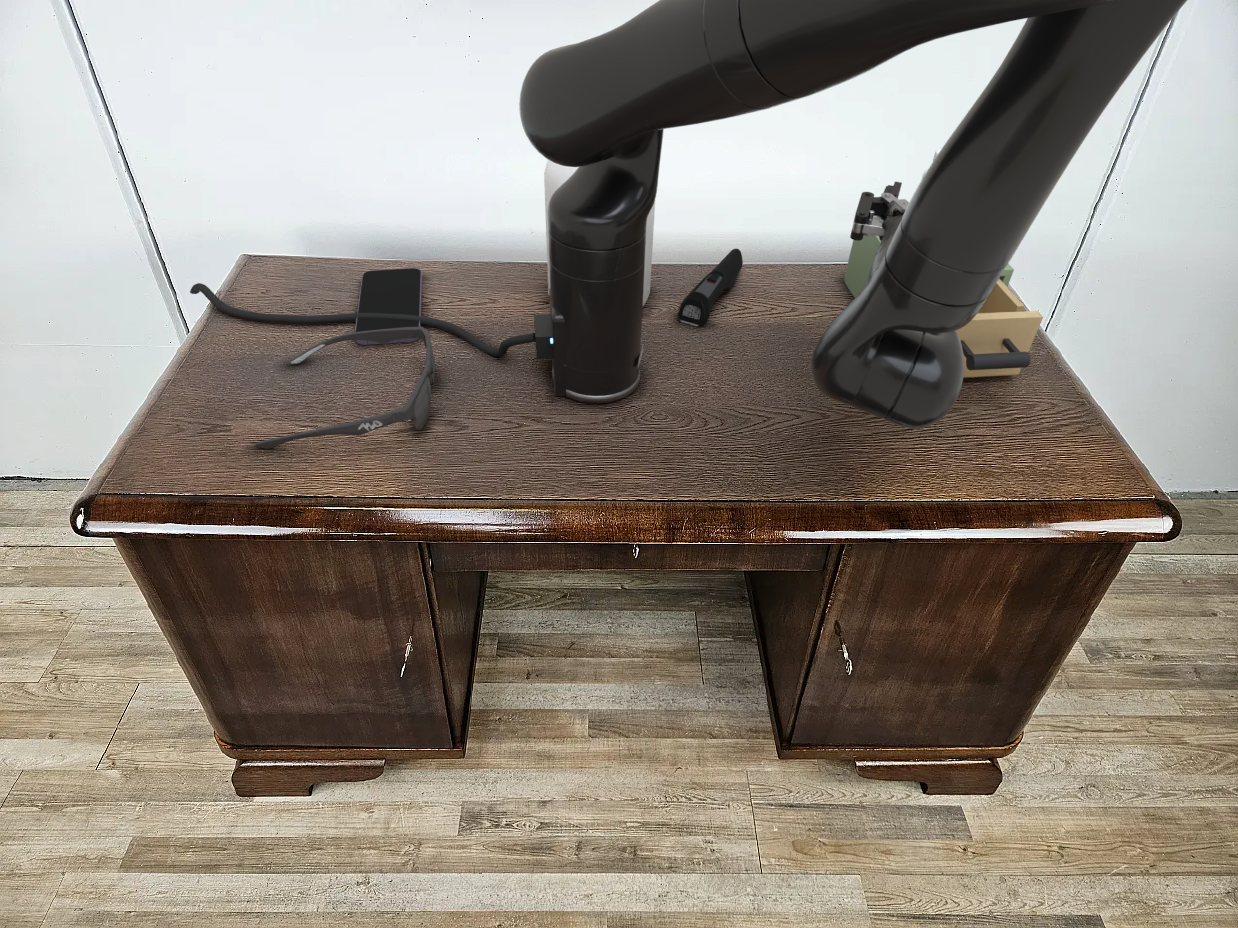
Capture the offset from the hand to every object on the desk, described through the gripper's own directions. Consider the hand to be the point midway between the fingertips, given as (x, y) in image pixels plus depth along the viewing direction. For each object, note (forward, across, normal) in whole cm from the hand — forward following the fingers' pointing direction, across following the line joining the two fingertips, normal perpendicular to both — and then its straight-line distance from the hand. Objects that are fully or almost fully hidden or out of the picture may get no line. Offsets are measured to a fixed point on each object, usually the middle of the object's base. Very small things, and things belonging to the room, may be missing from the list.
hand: (938, 198), depth 83 cm
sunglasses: (-35, +49, +18) cm, 63 cm away
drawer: (-1, -6, +17) cm, 18 cm away
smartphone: (-18, +56, +18) cm, 62 cm away
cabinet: (+9, -1, +17) cm, 19 cm away
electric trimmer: (+1, +23, +18) cm, 29 cm away
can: (-5, +35, +18) cm, 40 cm away
